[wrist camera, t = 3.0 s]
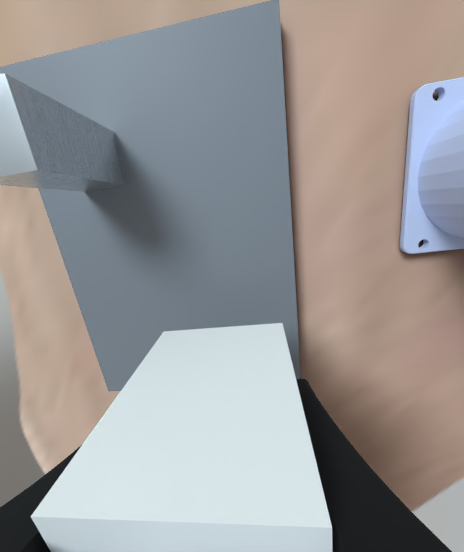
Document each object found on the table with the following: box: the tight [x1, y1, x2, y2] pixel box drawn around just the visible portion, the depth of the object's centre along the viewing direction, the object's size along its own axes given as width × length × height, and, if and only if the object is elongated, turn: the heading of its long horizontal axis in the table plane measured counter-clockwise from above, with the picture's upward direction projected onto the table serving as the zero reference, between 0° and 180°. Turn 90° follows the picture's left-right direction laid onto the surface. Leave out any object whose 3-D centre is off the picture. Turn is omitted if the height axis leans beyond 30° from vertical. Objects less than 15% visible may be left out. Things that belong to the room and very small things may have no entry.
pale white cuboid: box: [31, 323, 333, 552], centre depth 8 cm, size 5×5×7 cm
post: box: [0, 73, 127, 192], centre depth 10 cm, size 3×3×6 cm
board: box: [0, 0, 301, 391], centre depth 14 cm, size 14×20×1 cm
